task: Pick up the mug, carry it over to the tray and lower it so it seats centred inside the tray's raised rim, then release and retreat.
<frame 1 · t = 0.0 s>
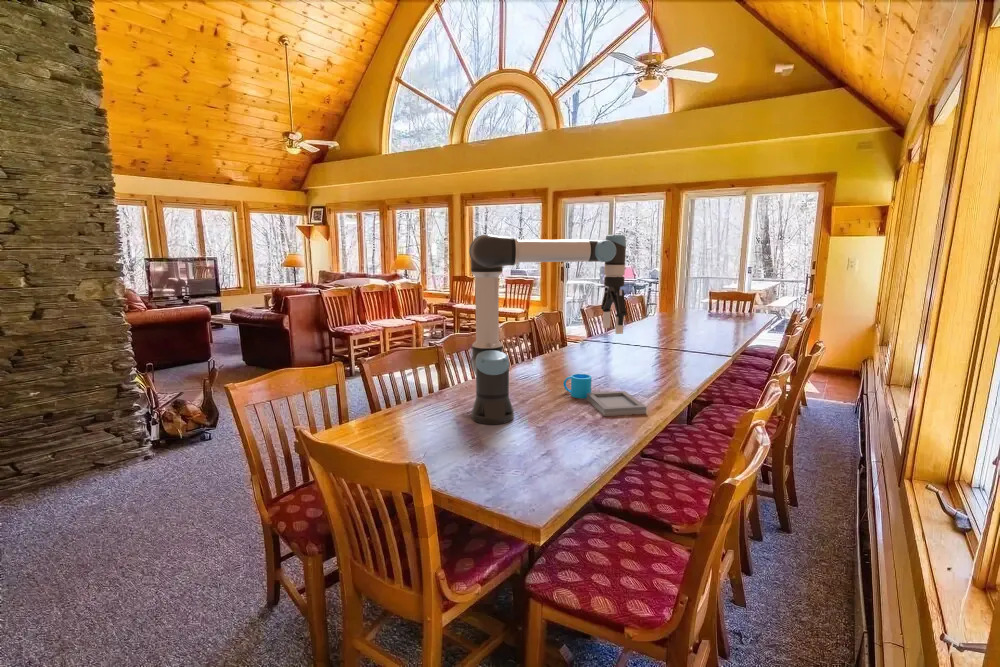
hand: (612, 330, 193), 28 cm above the table, fingers open, 13 cm apart
mug: (576, 395, 205), on the table
tray: (615, 406, 190), on the table
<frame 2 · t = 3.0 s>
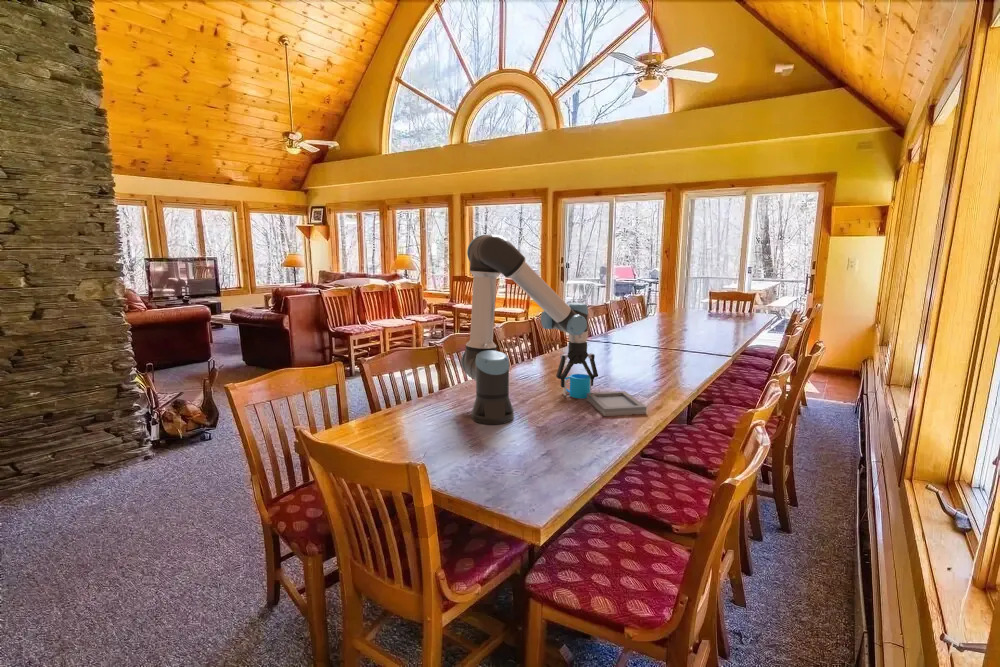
hand: (576, 394, 205), 0 cm above the table, fingers open, 10 cm apart
nothing on the table moved.
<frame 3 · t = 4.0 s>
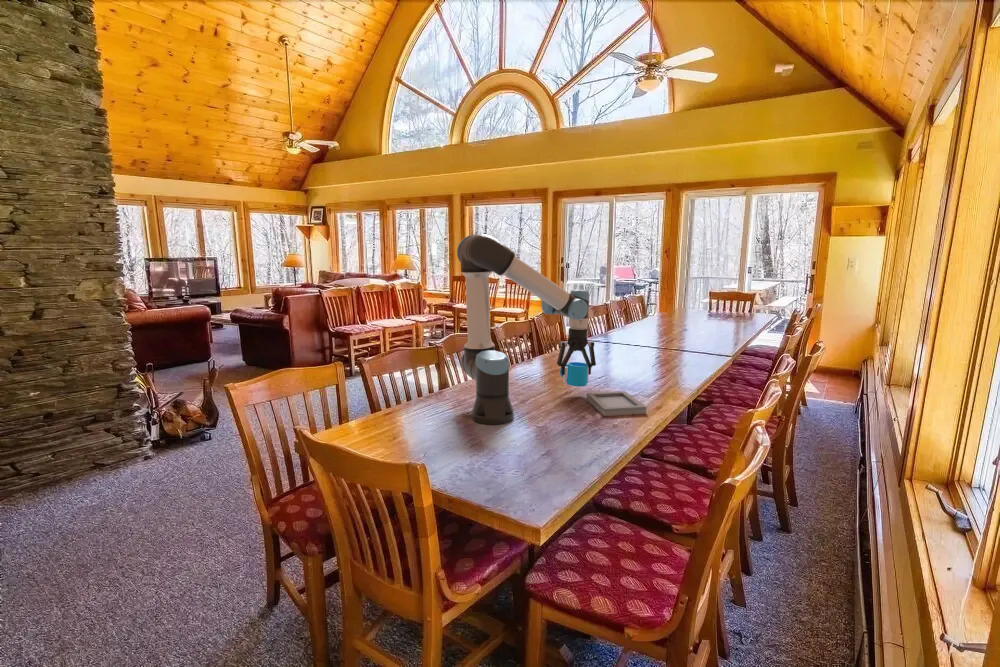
hand: (575, 382, 204), 5 cm above the table, fingers closed on mug, 8 cm apart
mug: (572, 383, 204), point 5 cm above the table, touching gripper
when the fingers open (3 cm above the table, at t = 8.5 s): mug drops 1 cm, resting on tray.
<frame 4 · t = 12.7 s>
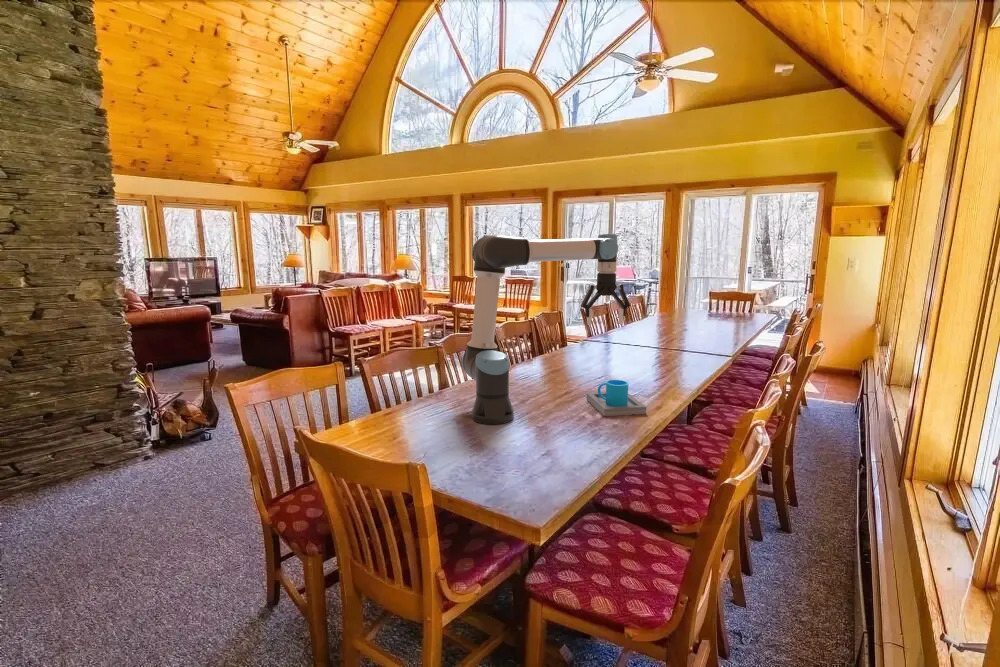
hand: (604, 324, 203), 29 cm above the table, fingers open, 13 cm apart
mug: (611, 403, 190), point 1 cm above the table, touching tray
at the end: mug 1.3 cm from the tray (horizontally); mug tilted 0°; mug touching tray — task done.
